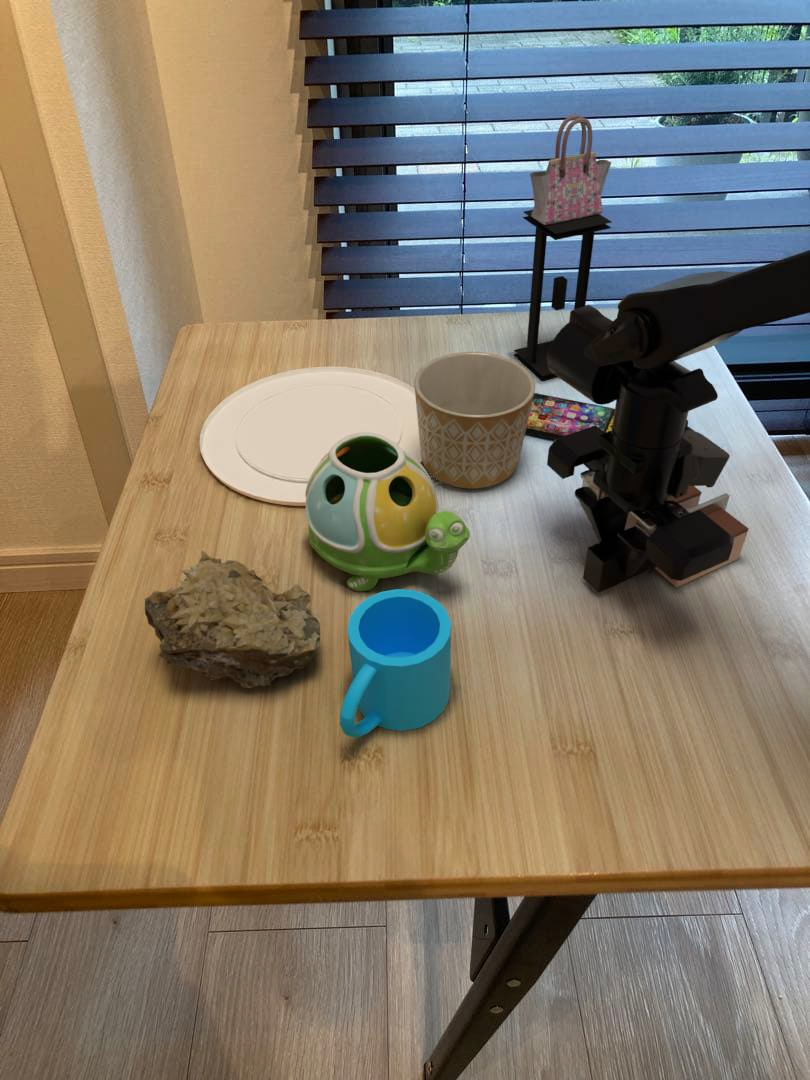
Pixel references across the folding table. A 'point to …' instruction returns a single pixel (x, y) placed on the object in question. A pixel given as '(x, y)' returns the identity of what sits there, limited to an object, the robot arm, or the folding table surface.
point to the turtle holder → (378, 513)
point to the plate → (302, 427)
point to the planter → (472, 417)
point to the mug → (397, 662)
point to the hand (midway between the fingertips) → (620, 565)
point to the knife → (606, 554)
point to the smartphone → (565, 416)
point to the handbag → (563, 229)
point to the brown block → (733, 529)
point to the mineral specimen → (233, 624)
